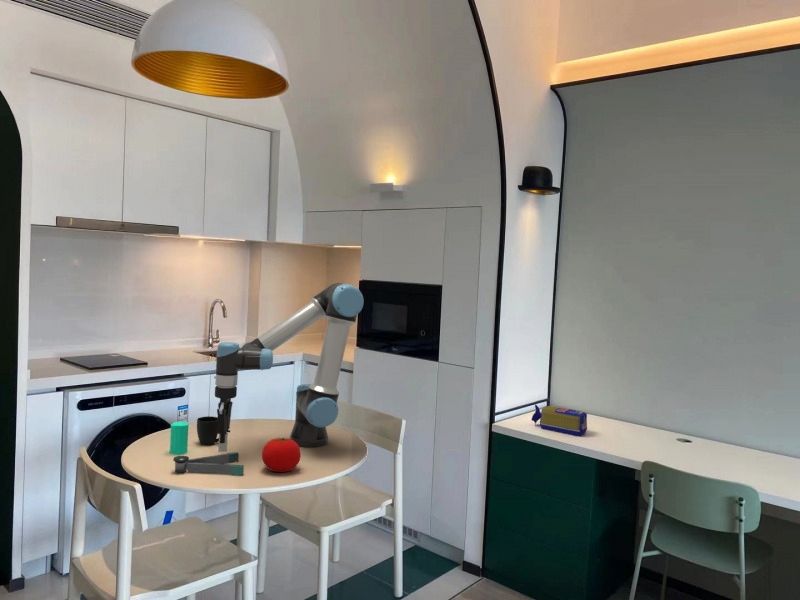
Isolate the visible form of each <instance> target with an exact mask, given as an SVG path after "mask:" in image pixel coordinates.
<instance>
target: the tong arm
mask: <svg viewBox="0 0 800 600" xmlns="http://www.w3.org/2000/svg"><path fill="white" fill-rule="evenodd" d="M239 458H240V453H239V452H238V451H234V452H232V451H231V452H228V453H223V454H216V455H210V456H203V457H202V456H201V457H196V458H189V460H188V461H187V469H186V471H188V463H212V464H232V463H238V462H239Z"/></svg>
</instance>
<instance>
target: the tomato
mask: <svg viewBox="0 0 800 600" xmlns="http://www.w3.org/2000/svg"><path fill="white" fill-rule="evenodd" d="M301 455H302V453H301V448H300V446H298V444H297V443H296V442H295V441H293V440H291V439H290V438H285V437H278V438H272V439H271V440H269V441H267V443H266V444H265V445H264V446H263V447H262V451H261V459H262V463H263V464H264V466H265V467H266V468H267V469H269V470H270V471H273V472H277V473H284V472H288V471H292V470H294V469H296V467H297V466H298V464H299V463H300V461H301V457H302V456H301Z"/></svg>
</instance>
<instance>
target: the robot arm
mask: <svg viewBox="0 0 800 600" xmlns="http://www.w3.org/2000/svg"><path fill="white" fill-rule="evenodd" d="M364 301H365V300H364V296H363V294H362V291H360V289H359V288H358V287H356V286H354V285H352V284H350V283H349V284H348V283H344V282H343V283H341V282H336V283H332V284H331V285H328V286H327V287H326V288H324V289H323V290H321V291H320V292H319V293H317V294H316V295H314V296H313V297H312V298H311V301H310V302H308V303H307V304H306V305H304V306H303V307H301V308H299V310H297V311H295V312H293V313H292V314H291V315H289V316H288V317H286V318H285V319H283V320H281V321H280V322H279V323H277V324H276V325H274V326H273V327H271V328H270V329H268V330H267V331H266V332H263V333H262V334H261V335H259V336H257V338H255V339H253V340H252V341H248V342H245V343H244V344H243V345H241V347H240V344H239V343H238V342H231V341H223V342H220V343H219V344H217V348H216V349H217V350H216V360H215V363H216V365H215V375H214V377H213V378H214V379H215V385H216V386H215V387H214V397H215V398H217V399H219V402H218V405H217V406H218V407H217V410H216V413H217V417H218V432H217V434H218V438H219V442H218V450H217V451H218V453H226V452H228V439H229V438H228V437H229V436H228V435H229V434H228V433H231V430H230V429H231V426H230V425H231V417H232V408H233V401H232V399H234V398H236V397H237V393H238V391H237V390H238V387H237V386H238V378H239V377H238V375H239V374H238V373H239V370H250V371H251V370H254V371H255V370H258V371H259V370H260V371H263V370H270V369H272V367H273V363H274V353H273V351H275V350H276V349H278V348H279V347H281V346H282V345H283V344H285V343H287V342H288V341H289V340H291V339H292V338H294V337H295V336H297V335H299V334H300V333H301V332H302V331H304V330H305V329H308V328H309V327H310V326H311V325H313V324H315V323H316V322H318V321H319V320H321V319H322V318H323V319H327V323H326V325H327V326H326V329H325V333H324V337H323V342H322V345H321V346H322V347H321V351H320V356H319V359H318V363H317V367H316V372H315V375H314V376H315V377H314V381H313V383H310V384H309V383H307V384H299V385H297V387H296V391H295V394H296V395H295V415H294V416H295V417H294V419H295V420H294V425H293V428H292V429H291V432H290V435H289V439H291V440H293V441H295V442H296V443H297V444H298V446H299V447H303V448H304V447H305V448H315V447H322V446H325V445H327V444H328V442H329V435H328V431H327V427H329V426H330V425H333V423H334V422H335V421H336V420H337V418H338V415H339V406H338V399H339V394H340V391H339V390H338V389H337V385H338V382H339V377H340V373H341V368H342V365H343V360H344V357H345V353H346V346H347V343H348V338H349V333H350V330H351V326H353V325H354V324H356V321H357V318H358V314H359V313H360V312H361V311H362V309H363V307H364Z"/></svg>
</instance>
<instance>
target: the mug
mask: <svg viewBox="0 0 800 600" xmlns="http://www.w3.org/2000/svg"><path fill="white" fill-rule="evenodd" d="M217 432H218V416H210V415H209V416H200V417H197V418H196V433H197V434H196V435H197V439H198V441H199V445H201V446H206V447H207V446H212V445H215V444H216V443H219V437H218V436H219V434H217Z"/></svg>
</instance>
